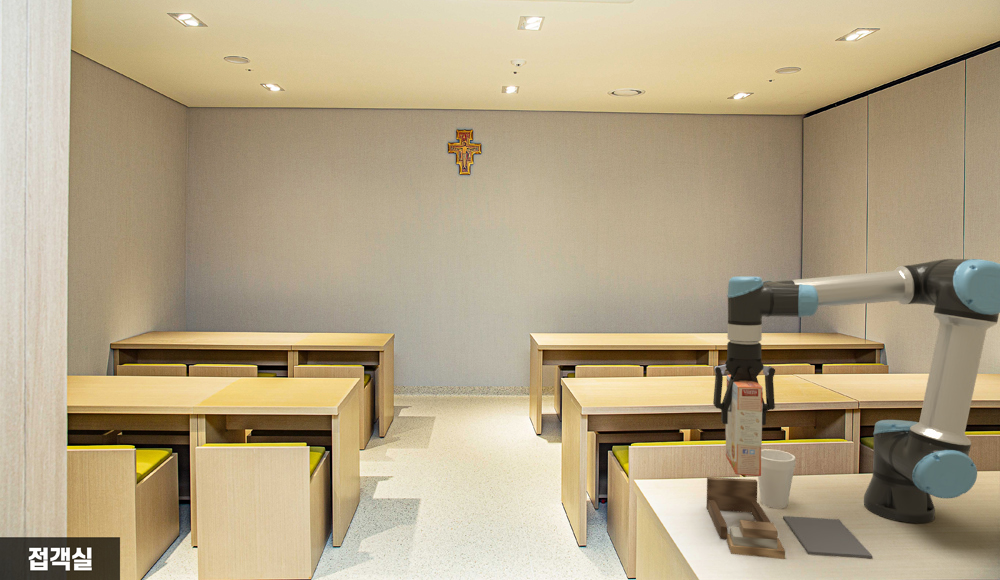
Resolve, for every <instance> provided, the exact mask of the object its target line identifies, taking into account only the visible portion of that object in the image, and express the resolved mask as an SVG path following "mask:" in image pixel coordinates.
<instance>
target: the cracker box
mask: <svg viewBox="0 0 1000 580" xmlns="http://www.w3.org/2000/svg"><path fill="white" fill-rule="evenodd" d="M730 377H731V374H726V388H727V387H728V384H729V380H730ZM758 383H759V382H758ZM758 383H757V382H752V381H746V380H744V381H739V382H733V385H732V400H731V403H730V406H729V410H730V411H731V412H732V418H731V439H728V438H727V437H726V436H725V457H726V458H727V461H728V462H729V464H730V466H731V468H732V469H733V472H734V474H735V475H738V476H739V475H740V476H753V477H758V476H761V450H762V444H763V443H762V439H763V434H762V433H763V425H762V402H763V400H764V396H763V394H764V387H763V385H761V384H760V383H759V384H758Z"/></svg>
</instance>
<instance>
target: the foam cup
mask: <svg viewBox="0 0 1000 580" xmlns="http://www.w3.org/2000/svg"><path fill="white" fill-rule="evenodd" d="M796 458H797V457H796V456H795V455H794V454H792V453H790V452H787V451H784V450H779V449H772V448H770V449H768V448H767V449H761V476H757V479H758V488H759V494H760V495H759V496H760V503H761V504H762V505H763V506H765V507H768V508H771V509H778V510H779V509H782V510H783V509H786V508H787V507H788V505H789V500H790V493H791V488H792V481H793V476H794V471H795V468H796V462H797V461H796Z"/></svg>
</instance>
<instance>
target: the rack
mask: <svg viewBox="0 0 1000 580" xmlns="http://www.w3.org/2000/svg"><path fill="white" fill-rule="evenodd" d="M706 510H707V512H708V513H709V516H710V518H712V519H711V521H712V523H713V526H714V527H716V528H715V529H716V532H717V534H718V537H719V536H720V537H719V539H720V540H727V534H729V533H728V531H729V530H728V528H729V527H728V525H727V522H726V521H725V519H724V516H723V514H722V513H721V512H722V511H723V512H724V511H725V512H737V511H739V513H740V511H741V513H751V516H752V515H753V516H752V518H753V519H754V521H757V522H769V523H772V522H771V520H770V519H769V517H768V516H767V515H766V512H765V511H764V510H763V508H762V506H760V504H759V502H758V481H757V479H751V478H749V479H748V478H734V477H733V478H732V477H730V478H728V477H711V476H708V477H706Z"/></svg>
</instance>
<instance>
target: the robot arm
mask: <svg viewBox="0 0 1000 580" xmlns="http://www.w3.org/2000/svg"><path fill="white" fill-rule="evenodd" d="M726 297H727V335H726V336H727V337H726V338H727V340H729V341H728V342H727V345H726V347H727V348H726V351H727V352H726V353H727V355H726V357H727V358H726V361H725V363H724V364H723V365H714V366H713V371H714V374H715V376H714V387H713V388H714V391H713V402H712V403H713V404H712V405H713V407H715V408H716V409H719V410H720V411H721V413H720V415H721V417H720V419H721V420H720V421H721V423H722V424H723V425H725V438H726V437H727V438H728V439H731V418H732V412H731V411H730V410H729V406H730V403H731V400H732V385H733V382H739V381H744V380H746V381H752V382H757V383H758V384H760V383H759V380H758V378H757V377H758V376H759V375H760V373H763V375H764V386H765V400H764V399H763V402H762V426H765V425H766V424H767V413H768V411H771V410H775V408H776V403H775V388H774V378H775V373H776V369H775V368H774V367H772V366H767V365H764V364H763V362H762V344H761V341H762V339H763V337H762V336H763V335H762V333H763V331H762V330H763V329H762V326H763V325H762V324H763V317H767V318H768V317H787V318H789V317H791V318H792V317H793V318H794V317H798V318H802V317H812V316H814V315H815V314H816V313H817V311H818V308H823V307H825V308H826V307H838V306H850V305H851V306H852V305H862V304H876V303H878V304H879V303H889V302H898V303H900V305H915V304H918V305H928V306H934V310H933V315H934V316H935V318H936V319H937V321H938V322H939V324H938V331H937V335H936V340H935V344H934V348H933V353H932V359H931V363H930V367H929V373H928V378H927V383H926V388H925V391H924V396H923V397H924V398H923V403H922V409H921V411H920V412H921V413H920V417H919V422H918V421H911V420H901V419H881V420H879V421H876V422H875V424H874V431H873V433H872V434H873V450H872V451H873V455H872V456H873V457H872V477H871V480H870V482H869V483H868V486H867V488H866V490H865V492H864V495H863V505H864V507H865V508H866V509H867V510H868V511H870V512H872V513H873V514H876V515H877V516H880V517H883V518H885V519H889V520H893V521H898V522H903V523H911V524H912V523H913V524H925V523H930V522H933V521H934V520H935V518H936V517H935V515H936V509H935V505H934V502H933V499H932V497H935V498H939V499H947V500H948V499H955V498H958V497H961V495H963V494H966V493H968V492H969V491H970V490H971V489H972V488H973V487H974V485H975V483H976V481H977V478H978V469H977V466H976V464H975V463H974V461H973V459H972V458H971V456H970V452H971V451H970V450H971V446H972V441H971V440H970V439H969V437H968V436H967V435H966V428H967V424H968V419H969V414H970V410H971V406H972V400H973V395H974V391H975V386H976V382H977V377H978V373H979V368H980V364H981V358H982V354H983V353H982V352H983V349H984V343H985V340H986V336H987V335H986V334H987V330H989V329H990V328H993V326H996V325H997V324H998V320H999V315H1000V263H999V262H996V261H992V260H987V259H985V260H984V259H982V258H980V259H979V258H978V259H977V258H971V259H969V258H967V259H965V258H964V259H961V258H960V259H959V258H958V259H957V258H956V259H955V258H954V259H953V258H946V259H943V258H942V259H938V260H937V259H936V260H931V261H926V262H922V263H921V262H920V263H916V264H908V265H899V266H897V267H896V268H895V269H894V270H888V271H887V270H886V271H877V272H867V273H866V272H865V273H854V274H842V275H832V276H820V277H811V278H799V279H791V280H777V281H772V280H766V281H763V279H762V277H761V276H751V275H750V276H746V275H745V276H743V275H742V276H740V275H738V276H732V277H731V278H730V279H729V280H728V286H727V294H726ZM725 371H728V373H729V375H731V377H730V380H729V384H728V387H727V386H726V390H725V393H724V397H723V398H722V393H723V392H722V391H723V380H724V379H723V378H724V377H723V376H724V375H725V373H726V372H725ZM931 496H932V497H931Z"/></svg>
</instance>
